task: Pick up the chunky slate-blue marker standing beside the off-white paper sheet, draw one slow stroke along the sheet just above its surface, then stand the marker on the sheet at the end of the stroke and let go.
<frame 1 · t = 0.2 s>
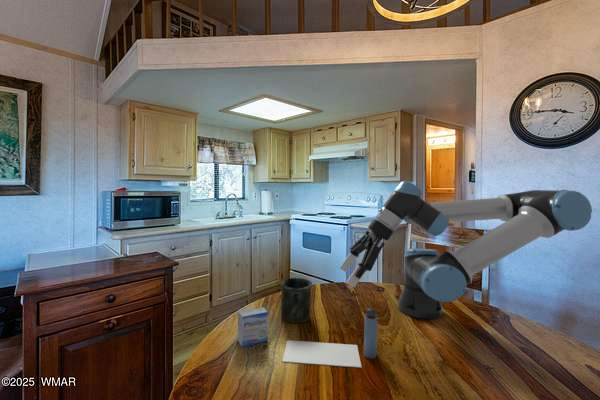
hand: (345, 277, 93), 16 cm above the table, tool tilted 35°, fingers open, 13 cm apart
mug: (295, 319, 96), on the table
medicine box: (252, 341, 82), on the table
marker: (369, 354, 76), on the table
paper: (321, 353, 77), on the table
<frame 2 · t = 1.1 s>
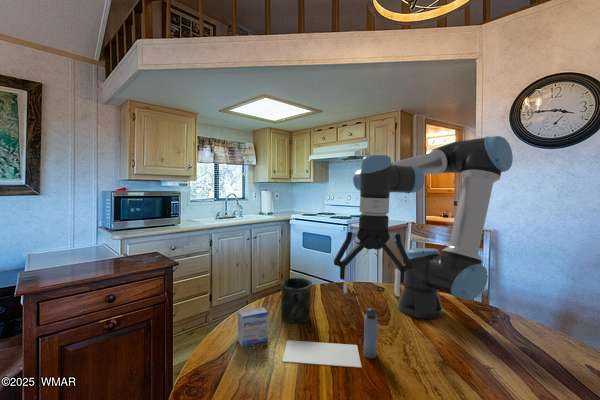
hand: (370, 293, 76), 17 cm above the table, tool pointing down, fingers open, 13 cm apart
nothing on the table moved.
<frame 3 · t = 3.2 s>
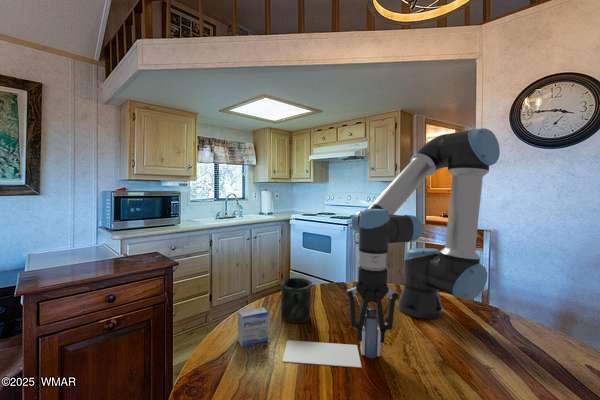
hand: (370, 352, 76), 1 cm above the table, tool pointing down, fingers closed on marker, 3 cm apart
marker: (369, 354, 76), on the table, touching gripper
everything else where it was.
when the fingers open (1 cm above the table, at t = 10.1 s): marker stays where it is, resting on paper.
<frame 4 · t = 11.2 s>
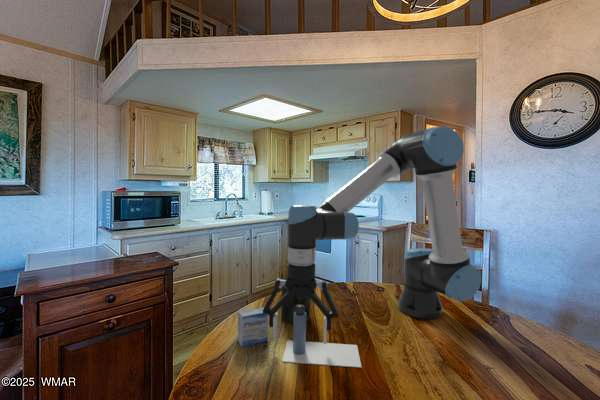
hand: (299, 339, 77), 3 cm above the table, tool pointing down, fingers open, 13 cm apart
marker: (299, 351, 77), resting on paper
everything else where it was.
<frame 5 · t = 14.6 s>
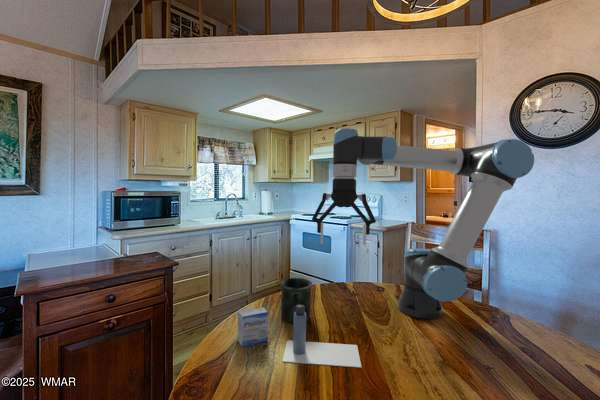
hand: (342, 244, 92), 27 cm above the table, tool pointing down, fingers open, 13 cm apart
nothing on the table moved.
at the end: marker inside the target area (6.1 cm from its centre), resting on paper; marker tilted 1°; the gripper is holding nothing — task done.
